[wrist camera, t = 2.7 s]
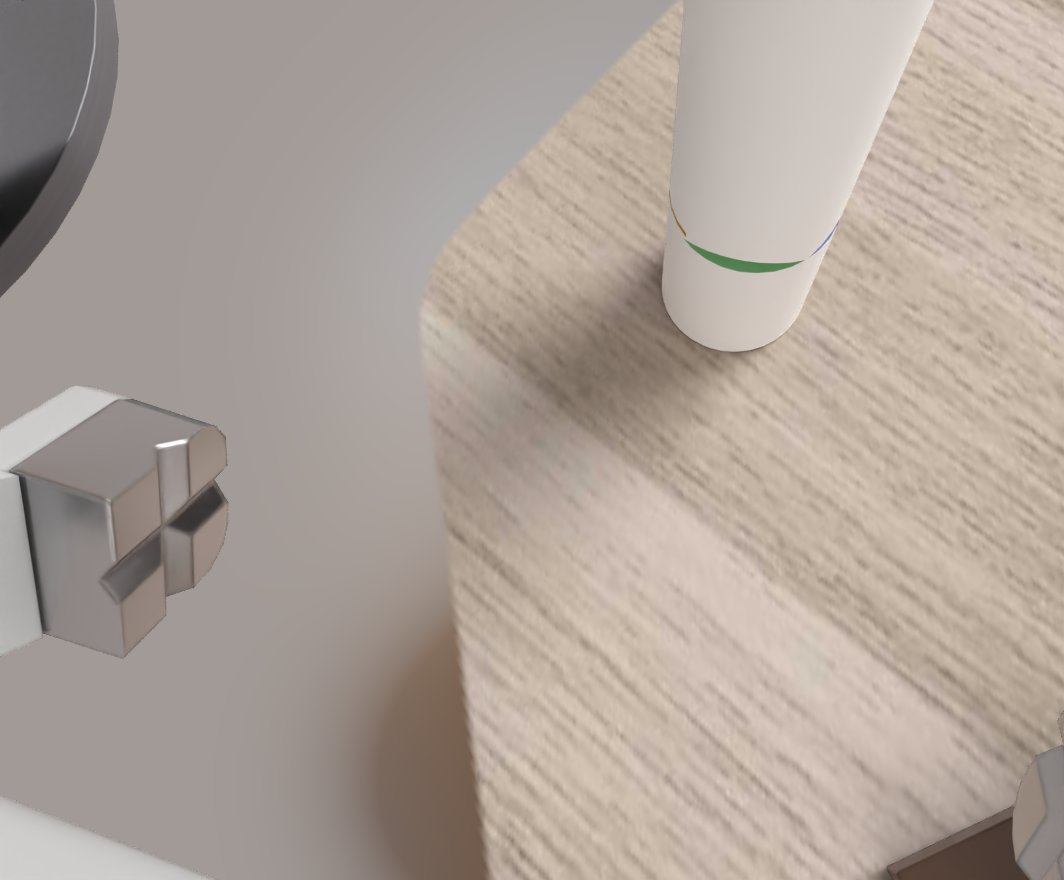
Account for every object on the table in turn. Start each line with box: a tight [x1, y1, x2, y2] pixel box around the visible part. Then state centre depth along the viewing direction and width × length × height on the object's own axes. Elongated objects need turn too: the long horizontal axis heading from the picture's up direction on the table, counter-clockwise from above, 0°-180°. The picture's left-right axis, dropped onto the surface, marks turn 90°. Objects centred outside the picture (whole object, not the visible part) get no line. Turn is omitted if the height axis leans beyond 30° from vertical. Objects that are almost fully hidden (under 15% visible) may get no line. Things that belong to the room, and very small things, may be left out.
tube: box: [662, 0, 934, 352], centre depth 22 cm, size 4×4×15 cm
